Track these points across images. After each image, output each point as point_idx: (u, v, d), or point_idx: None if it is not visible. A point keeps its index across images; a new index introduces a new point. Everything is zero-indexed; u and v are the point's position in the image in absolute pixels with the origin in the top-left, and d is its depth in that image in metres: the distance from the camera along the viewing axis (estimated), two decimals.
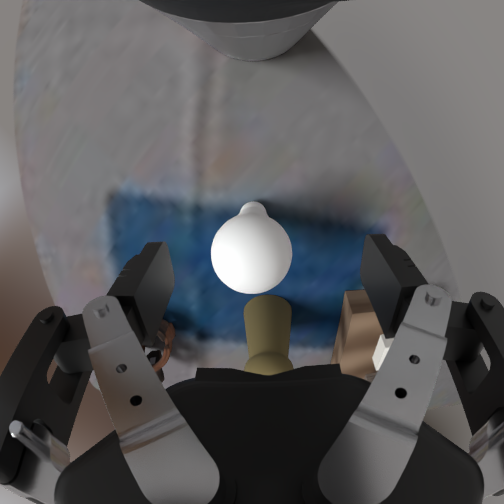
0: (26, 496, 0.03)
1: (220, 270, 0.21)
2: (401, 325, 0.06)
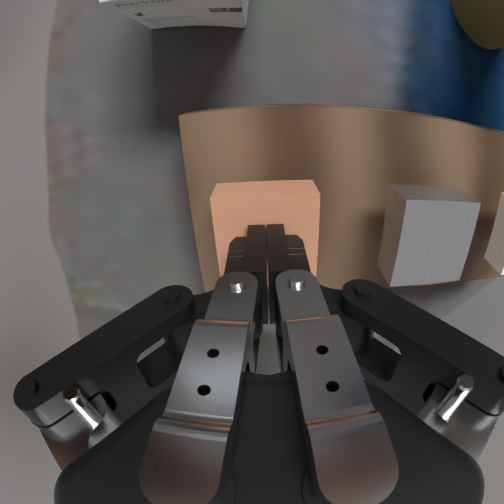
0: None
1: None
2: (287, 324, 0.06)
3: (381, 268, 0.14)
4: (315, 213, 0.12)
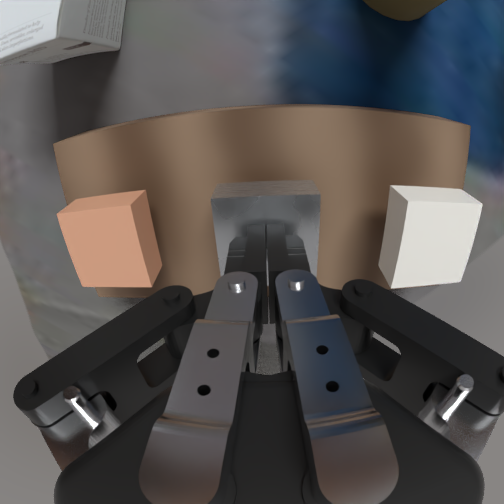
0: None
1: None
2: (287, 324, 0.06)
3: None
4: (130, 222, 0.12)
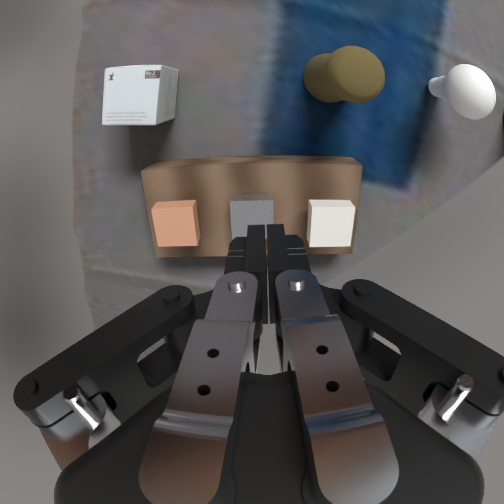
0: None
1: (483, 74, 0.18)
2: (287, 324, 0.06)
3: None
4: (191, 214, 0.29)
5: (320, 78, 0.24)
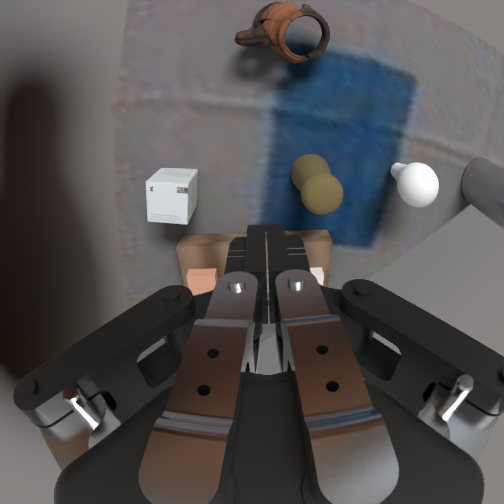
0: None
1: (427, 174, 0.32)
2: (287, 324, 0.06)
3: None
4: (214, 280, 0.44)
5: (300, 188, 0.39)
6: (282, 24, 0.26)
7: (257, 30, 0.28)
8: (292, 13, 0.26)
